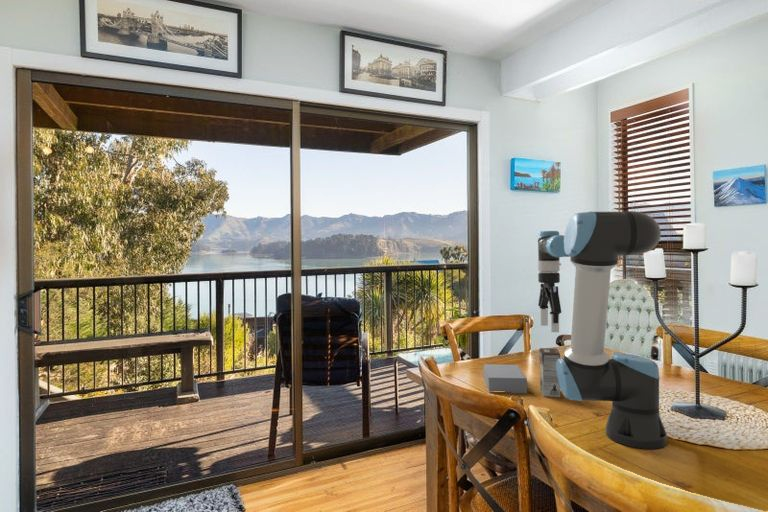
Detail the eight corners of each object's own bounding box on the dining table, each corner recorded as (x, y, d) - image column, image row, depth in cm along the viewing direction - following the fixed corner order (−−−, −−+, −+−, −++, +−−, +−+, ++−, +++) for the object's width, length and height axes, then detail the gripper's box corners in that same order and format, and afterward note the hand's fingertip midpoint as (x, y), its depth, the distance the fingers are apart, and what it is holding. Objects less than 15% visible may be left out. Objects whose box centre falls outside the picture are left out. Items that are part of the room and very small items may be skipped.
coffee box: (539, 389, 173) (538, 347, 173) (556, 389, 172) (556, 348, 172) (542, 396, 164) (542, 352, 164) (561, 397, 163) (560, 353, 163)
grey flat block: (526, 394, 168) (526, 378, 168) (488, 393, 170) (488, 377, 170) (517, 379, 188) (517, 365, 188) (483, 378, 190) (483, 364, 190)
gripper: (570, 273, 155) (571, 335, 155) (549, 270, 180) (549, 323, 180) (548, 274, 155) (548, 335, 156) (530, 270, 180) (530, 323, 181)
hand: (549, 328), depth 168 cm, fingers open, 13 cm apart
